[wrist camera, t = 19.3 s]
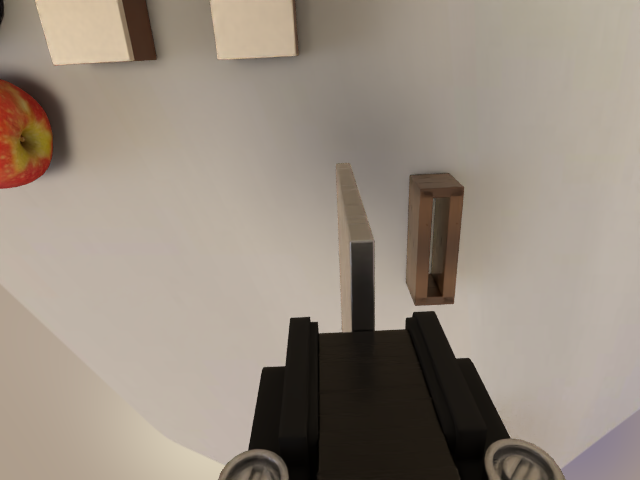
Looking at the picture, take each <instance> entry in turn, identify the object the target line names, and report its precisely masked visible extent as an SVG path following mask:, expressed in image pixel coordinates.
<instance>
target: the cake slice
mask: <svg viewBox="0 0 640 480" xmlns="http://www.w3.org/2000/svg"><path fill="white" fill-rule="evenodd" d="M210 6H211V13H212V21H213V28H214V35H215V43H216V50H217V57H218V60H228V59H246V58H265V57H283V56H297V55H299V50H298V34H297V19H296V3H295V0H210Z"/></svg>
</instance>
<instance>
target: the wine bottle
mask: <svg viewBox="0 0 640 480" xmlns="http://www.w3.org/2000/svg"><path fill="white" fill-rule="evenodd" d="M2 14H3V5H2V0H0V22H1V18H2Z"/></svg>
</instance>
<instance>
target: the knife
mask: <svg viewBox="0 0 640 480" xmlns="http://www.w3.org/2000/svg"><path fill="white" fill-rule="evenodd" d="M336 187H337V213H338V239H339V266H340V292H341V318H342V332H339V333H319V334H318V440H317V444H316V480H461V478H460V475H459V472H458V469H457V466H456V463H455V460H454V457H453V454H452V451H451V448H450V445H449V442H448V440H447V437H446V435H445V434H444V432H443V429H442V426H441V423H440V420H439V417H438V414H437V411H436V408H435V405H434V402H433V399H432V396H431V393H430V390H429V387H428V384H427V381H426V378H425V375H424V372H423V369H422V366H421V363H420V361H419V358H418V355H417V352H416V349H415V346H414V343H413V340H412V337H411V334H410V331H409V330H408V329H403V330H382V331H375V241H374V238H373V235H372V231H371V228H370V225H369V222H368V219H367V215H366V212H365V209H364V206H363V203H362V200H361V196H360V193H359V190H358V187H357V184H356V180H355V177H354V174H353V171H352V168H351V165H350V163H338V164H336Z"/></svg>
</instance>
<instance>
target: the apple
mask: <svg viewBox="0 0 640 480" xmlns="http://www.w3.org/2000/svg"><path fill="white" fill-rule="evenodd" d="M46 115H47V114H46V112H45V111H44V110H43V109H42V106H40V105H39V104H38V102H37V101H36V100H35V99H34V98H33V97H31V96H30V95H29V94H28V93H26V92H25V91H23V90H22V89H20V88H19V87H17V86H15V85H13V84H12V83H10V82H7V81H4V80H1V79H0V189H3V188H12V187H18V186H22V185H26V184H28V183H30V182H32V181H34V180H36V179H37V178H39V177H40V176H42V175H43V174H44V173H45V171H46V170H47V169H48V167H49V164H50V161H51V159H52V152H53V135H52V131H51V126H50V122H49V120H48V118H47V116H46Z"/></svg>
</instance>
